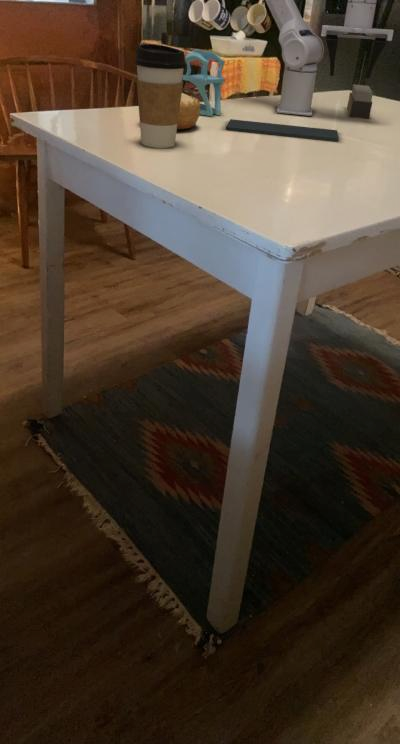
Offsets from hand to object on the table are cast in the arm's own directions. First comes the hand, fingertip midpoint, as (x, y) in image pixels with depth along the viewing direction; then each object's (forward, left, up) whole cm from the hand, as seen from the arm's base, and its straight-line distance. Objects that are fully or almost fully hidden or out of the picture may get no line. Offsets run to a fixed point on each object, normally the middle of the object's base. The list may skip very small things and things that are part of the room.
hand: (349, 76), depth 131 cm
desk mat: (+18, -13, -9) cm, 24 cm away
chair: (+7, -31, -9) cm, 33 cm away
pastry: (+24, -35, -9) cm, 43 cm away
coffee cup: (+39, -34, -9) cm, 53 cm away
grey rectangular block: (-12, +4, -9) cm, 15 cm away
